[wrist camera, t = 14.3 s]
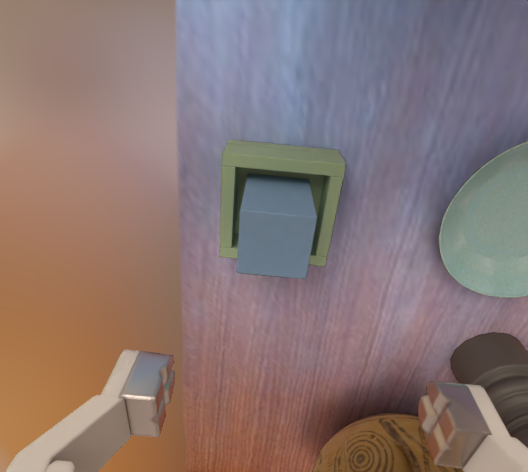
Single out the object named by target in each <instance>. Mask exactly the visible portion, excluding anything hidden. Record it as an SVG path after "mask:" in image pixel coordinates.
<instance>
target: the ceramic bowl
mask: <svg viewBox="0 0 528 472" xmlns="http://www.w3.org/2000/svg"><path fill="white" fill-rule="evenodd" d="M428 437H429V435H428V434H427V433H426V432H425V431H424V430H423V429H422V427H421V424H420V421H419V417H418V416H416V415H411V414H405V413H381V414H375V415H372V416H368V417H364V418H361V419H359V420H356V421H354V422H352V423H351V424H349V425H348V426H346V427H344V428H343V429H341V430H340V431H339V432H338V433H336V434H335V435H334V436H333V437H332V438H331V439H330V440H329V441H328V442H327V443H326V444H325V445H324V447H323V448H322V450H321V451H320V453H319V455H318V457H317V460H316V462H315V465H314V468H313V471H312V472H463V469H462V468H454V467H447V466H439V465H434V463H433V460H432V457H431V454H430V451H429V448H428V445H427V440H428Z"/></svg>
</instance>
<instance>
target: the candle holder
mask: <svg viewBox="0 0 528 472" xmlns="http://www.w3.org/2000/svg"><path fill="white" fill-rule="evenodd" d="M451 369H452V371H453V373H454V375H455V377H456V379H457V381H458V383H462V384H470V385H480V386H482V387H483V388H484V389H485V391H486V393H487V394H488V396H489V398H490V400H491V402H492V403H493V405H494V407H495V409H496V411H497V413H498V414H499V416H500V418H501V420H502V422H503V423H504V425H505V427H506V429H507V431H508V433H509V434H510V436H511V437H515V438H517V439H518V440H519V441H520V442H522V443H523V444H524V445H525V446H526V447H527V448H528V351H527V350H526V349H525V348H524V346H523V345H522V344H521V342H520V341H519V340H518V339H517V338H515V337H513V336H511V335H509V334H503V333H489V334H483V335H478V336H476V337H474V338H472V339H469V340H467V341H465V342H464V343H463V344H462V345H461V346H459V347H458V348H457V349H456V350H455V352H454V354H453V355H452V357H451Z"/></svg>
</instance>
